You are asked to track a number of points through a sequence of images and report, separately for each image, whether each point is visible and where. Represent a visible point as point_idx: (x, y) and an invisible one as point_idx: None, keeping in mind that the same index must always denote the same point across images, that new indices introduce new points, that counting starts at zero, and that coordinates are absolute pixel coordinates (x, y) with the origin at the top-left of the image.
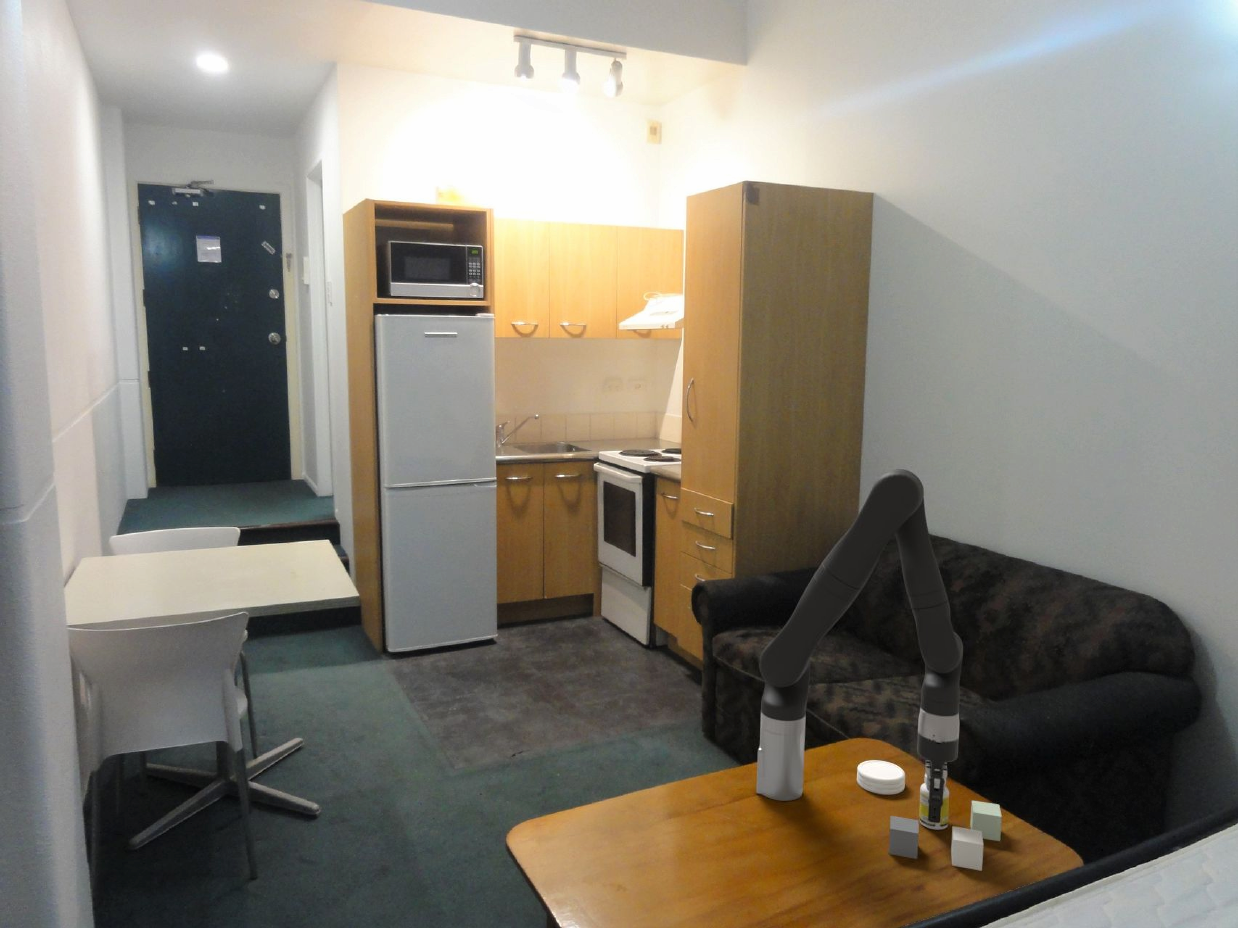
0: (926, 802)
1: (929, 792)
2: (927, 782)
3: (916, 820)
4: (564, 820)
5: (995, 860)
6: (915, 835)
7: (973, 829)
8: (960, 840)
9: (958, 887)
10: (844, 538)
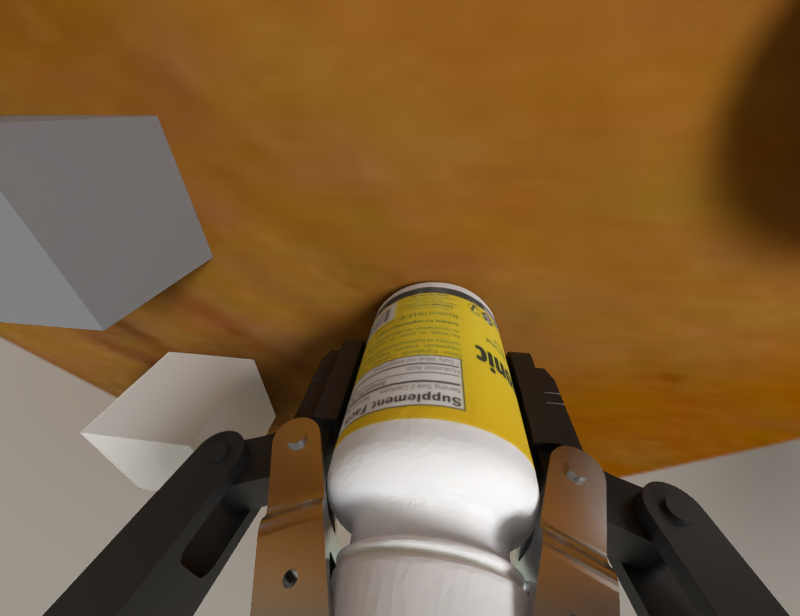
0: (353, 396)
1: (161, 536)
2: (252, 607)
3: (91, 319)
4: None
5: None
6: None
7: None
8: (99, 447)
9: (65, 351)
10: None
